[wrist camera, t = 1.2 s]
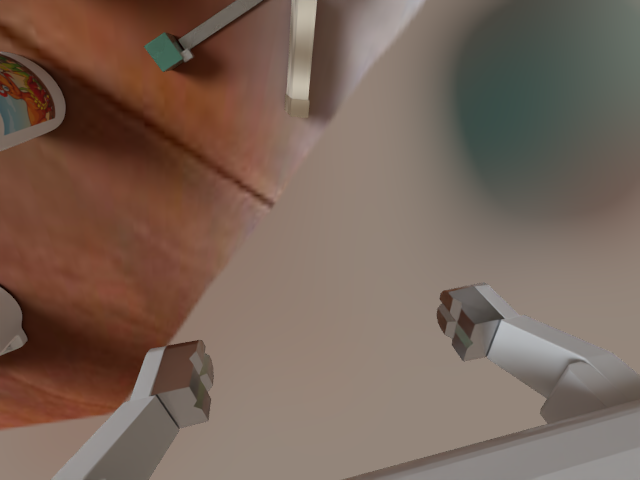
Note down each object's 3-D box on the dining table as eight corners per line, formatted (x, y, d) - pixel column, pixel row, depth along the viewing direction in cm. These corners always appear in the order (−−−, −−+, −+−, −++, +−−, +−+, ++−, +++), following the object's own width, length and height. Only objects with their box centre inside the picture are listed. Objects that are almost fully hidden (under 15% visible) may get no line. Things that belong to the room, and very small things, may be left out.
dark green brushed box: (173, 72, 33) (165, 74, 30) (154, 47, 32) (143, 46, 28) (197, 56, 33) (192, 56, 29) (180, 30, 31) (172, 26, 28)
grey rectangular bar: (291, -18, 31) (299, -29, 27) (309, -14, 32) (321, -25, 27) (284, 109, 37) (290, 116, 33) (300, 111, 38) (308, 118, 34)
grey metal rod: (186, 51, 33) (186, 51, 32) (178, 40, 32) (178, 39, 32) (292, -20, 31) (293, -21, 31) (286, -34, 31) (287, -34, 30)
